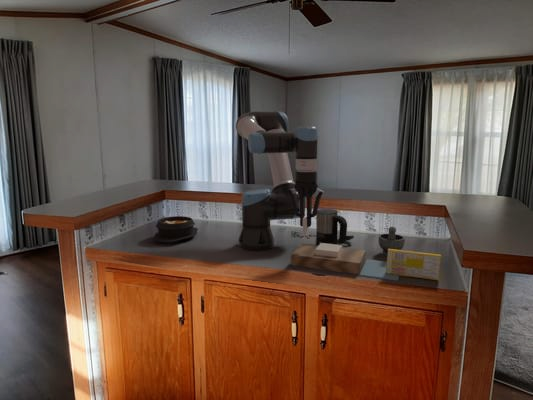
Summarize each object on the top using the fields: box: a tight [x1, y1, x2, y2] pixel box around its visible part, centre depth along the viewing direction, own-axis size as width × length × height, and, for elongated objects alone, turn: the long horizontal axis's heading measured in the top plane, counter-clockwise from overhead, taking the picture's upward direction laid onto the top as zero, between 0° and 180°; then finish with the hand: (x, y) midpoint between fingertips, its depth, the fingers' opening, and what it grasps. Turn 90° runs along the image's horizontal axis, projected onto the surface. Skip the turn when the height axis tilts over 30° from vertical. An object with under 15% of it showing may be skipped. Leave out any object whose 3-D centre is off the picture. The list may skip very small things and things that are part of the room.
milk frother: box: [315, 208, 355, 245], centre depth 159 cm, size 14×16×15 cm
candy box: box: [386, 249, 442, 281], centre depth 124 cm, size 16×2×8 cm, turn 71°
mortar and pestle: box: [378, 226, 406, 257], centre depth 146 cm, size 11×9×12 cm
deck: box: [290, 243, 367, 275], centre depth 138 cm, size 24×14×4 cm, turn 68°
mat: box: [359, 258, 400, 282], centre depth 131 cm, size 12×16×1 cm
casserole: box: [151, 215, 199, 243], centre depth 170 cm, size 25×19×8 cm
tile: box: [315, 243, 343, 257], centre depth 137 cm, size 8×8×2 cm
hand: (305, 235), depth 139 cm, fingers closed
